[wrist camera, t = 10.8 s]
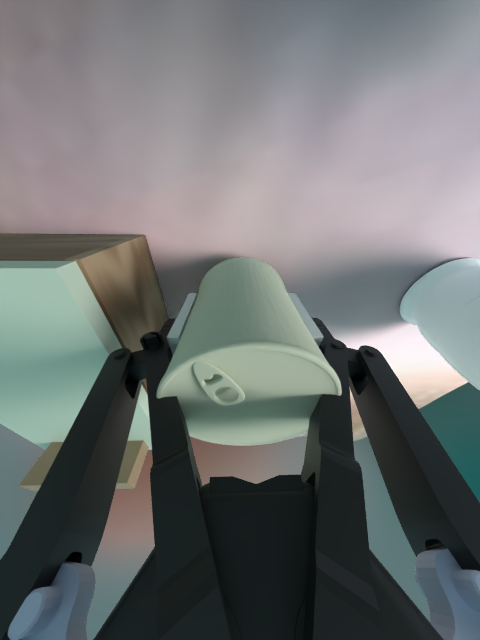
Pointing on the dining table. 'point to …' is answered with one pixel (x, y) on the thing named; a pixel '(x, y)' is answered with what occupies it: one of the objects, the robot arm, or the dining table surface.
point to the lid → (56, 361)
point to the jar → (449, 314)
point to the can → (246, 360)
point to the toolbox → (104, 276)
